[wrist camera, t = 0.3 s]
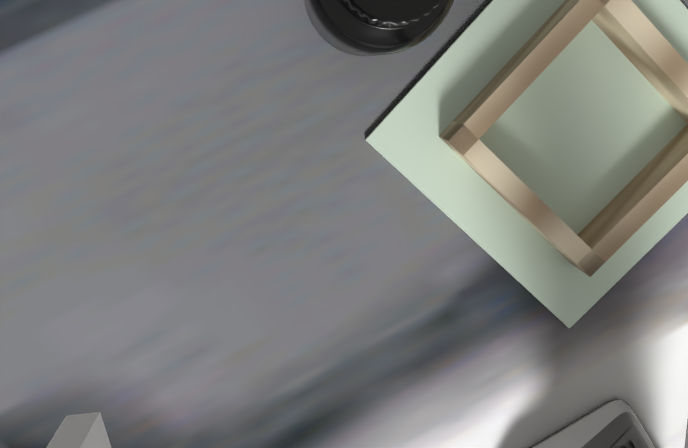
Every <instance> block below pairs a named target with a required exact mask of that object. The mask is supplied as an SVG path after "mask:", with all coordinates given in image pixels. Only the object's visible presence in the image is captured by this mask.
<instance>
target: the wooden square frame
mask: <svg viewBox="0 0 688 448" xmlns="http://www.w3.org/2000/svg"><path fill="white" fill-rule="evenodd" d="M591 20H593V21H594V23H595V24H596V25H597V26H598V27H599V28H600V29H601V30H602V31H603V32H604V33H605V35H606V36H607V37H608V38H609V39H610V40H611V41H612V42H613V43H614V44H615V45H616V47H617V48H618V49H619V50H620V51H621V52H622V53H623V54H624V55H625V56H626V57H627V59H628V60H629V61H630V62H631V63H632V64H633V65H634V66H635V67H636V68H637V69H638V71H639V72H640V73H641V74H642V75H643V76H644V77H645V78H646V79H647V80H648V82H649V83H650V84H651V85H652V86H653V87H654V88H655V89H656V90H657V91H658V92H659V94H660V95H661V96H662V97H663V98H664V99H665V100H666V101H667V102H668V103H669V104H670V106H671V107H672V108H673V109H674V110H675V111H676V112H677V113H678V114H679V115H680V116H681V118H682V119H683V120H684V121H685V122H686V123H687V125H686V126H685V127H684V128H683V129H682V130H681V131H680V132H679V133H678V134H677V135H676V136H675V137H674V138H673V139H672V140H671V141H670V142H669V143H668V144H667V145H666V146H665V147H664V148H663V149H662V150H661V151H660V152H659V153H658V154H657V155H656V156H655V157H654V158H653V159H652V160H651V161H650V162H649V163H648V164H647V165H646V166H645V167H644V168H643V169H642V170H641V171H640V172H639V173H638V174H637V175H636V176H635V177H634V178H633V179H632V180H631V181H630V182H629V183H628V184H627V185H626V186H625V187H624V188H623V189H622V190H621V191H620V192H619V193H618V194H617V195H616V196H615V197H614V198H613V199H612V200H611V201H610V202H609V203H608V204H607V205H606V206H605V207H604V208H603V209H602V210H601V211H600V212H599V213H598V214H597V215H596V216H595V217H594V218H593V219H592V220H591V221H590V222H589V223H588V224H587V225H586V226H585V227H584V228H583V229H582V230H581V231H580V232H579V233H578V234H575V233H574V232H573V231H572V230H571V229H570V228H569V227H568V226H567V225H566V224H565V223H564V222H563V221H562V220H561V219H560V218H559V217H558V216H557V215H556V214H555V213H554V212H553V211H552V210H551V209H550V208H549V207H548V206H547V205H546V204H545V203H544V202H543V201H542V200H541V199H540V198H539V197H538V196H537V195H536V194H535V193H533V192H532V191H531V190H530V189H529V188H528V187H527V186H526V185H525V184H524V183H523V182H522V181H521V180H520V179H519V178H518V177H517V176H516V175H515V174H514V173H513V172H512V171H511V170H510V169H509V168H508V167H507V166H506V165H505V164H504V163H503V162H502V161H501V160H500V159H499V158H498V157H497V156H496V155H495V154H494V153H492V152H491V151H490V150H489V149H488V148H487V147H486V146H485V145H484V144H483V143H482V142H481V141H480V140H479V139H480V138H481V136H482V135H483V134H484V133H485V132H486V131H487V130H488V129H489V128H490V127H491V126H492V125H493V124H494V123H495V122H496V121H497V120H498V118H499V117H500V116H501V115H502V114H503V113H504V112H505V111H506V110H507V109H508V108H509V107H510V106H511V105H512V104H513V103H514V101H515V100H516V99H517V98H518V97H519V96H520V95H521V94H522V93H523V92H524V91H525V90H526V89H527V88H528V87H529V86H530V85H531V83H532V82H533V81H534V80H535V79H536V78H537V77H538V76H539V75H540V74H541V73H542V72H543V71H544V70H545V69H546V68H547V66H548V65H549V64H550V63H551V62H552V61H553V60H554V59H555V58H556V57H557V56H558V55H559V54H560V53H561V52H562V51H563V50H564V48H565V47H566V46H567V45H568V44H569V43H570V42H571V41H572V40H573V39H574V38H575V37H576V36H577V35H578V34H579V33H580V31H581V30H582V29H583V28H584V27H585V26H586V25H587V24H588V23H589V22H590V21H591ZM439 137H440V138H441V139H442V140H443V141H444V142H445V143H446V144H447V145H448V146H449V147H450V148H451V149H452V150H453V151H454V152H455V153H456V154H457V155H459V156H460V157H461V158H462V159H463V160H464V161H465V162H466V163H467V164H468V165H469V166H470V167H471V168H472V169H473V170H474V171H475V172H476V173H477V174H478V175H479V176H480V177H481V178H483V179H484V180H485V181H486V182H487V183H488V184H489V185H490V186H491V187H492V188H493V189H494V190H495V191H496V192H497V193H498V194H499V195H500V196H501V197H502V198H503V199H504V200H505V201H506V202H508V203H509V204H510V205H511V206H512V207H513V208H514V209H515V210H516V211H517V212H518V213H519V214H520V215H521V216H522V217H523V218H524V219H525V220H526V221H527V222H528V223H529V224H530V225H532V226H533V227H534V228H535V229H536V230H537V231H538V232H539V233H540V234H541V235H542V236H543V237H544V238H545V239H546V240H547V241H548V242H549V243H550V244H551V245H552V246H553V247H554V248H556V249H557V250H558V251H559V252H560V253H561V254H562V255H563V256H564V257H565V258H566V259H567V260H568V261H569V262H570V263H571V264H572V265H574V266H575V267H576V268H578V269H579V270H581V271H582V272H584V273H585V274H587V275H588V276H589V277H591V276H592V275H593V274H594V273H595V272H596V271H597V270H598V269H599V268H600V267H601V266H602V265H603V264H604V263H605V262H606V261H607V260H608V259H609V258H610V257H611V256H612V255H613V254H614V253H615V252H616V251H617V250H618V249H619V248H620V247H621V246H622V245H623V244H624V243H625V242H626V241H627V240H628V239H629V238H630V237H631V236H632V235H633V234H634V233H635V232H636V231H637V230H638V229H639V228H641V227H642V226H643V225H644V224H645V223H646V222H647V221H648V220H649V219H650V218H651V217H652V216H653V215H654V214H655V213H656V212H657V211H658V210H659V209H660V208H661V207H662V206H663V205H664V204H665V203H666V202H667V201H668V200H669V199H670V198H671V197H672V196H673V195H674V194H675V193H676V192H677V191H678V190H679V189H680V188H681V187H682V186H683V185H684V184H685V183H686V182H687V181H688V63H687V62H686V61H685V60H684V59H683V58H682V57H681V55H680V54H679V53H678V52H677V51H676V50H675V49H674V48H673V46H672V45H671V44H670V43H669V42H668V41H667V40H666V39H665V37H664V36H663V35H662V34H661V33H660V32H659V31H658V30H657V29H656V27H655V26H654V25H653V24H652V23H651V22H650V21H649V20H648V18H647V17H646V16H645V15H644V14H643V13H642V12H641V11H640V9H639V8H638V7H637V6H636V5H635V4H634V3H633V2H632V0H565V1H564V2H563V3H562V5H561V6H560V7H559V8H558V9H557V10H556V11H555V12H554V13H553V14H552V15H551V16H550V17H549V19H548V20H547V21H546V22H545V23H544V24H543V25H542V26H541V27H540V28H539V29H538V30H537V31H536V32H535V34H534V35H533V36H532V37H531V38H530V39H529V40H528V41H527V42H526V43H525V44H524V45H523V46H522V48H521V49H520V50H519V51H518V52H517V53H516V54H515V55H514V56H513V57H512V58H511V59H510V60H509V61H508V63H507V64H506V65H505V66H504V67H503V68H502V69H501V70H500V71H499V72H498V73H497V74H496V75H495V77H494V78H493V79H492V80H491V81H490V82H489V83H488V84H487V85H486V86H485V87H484V88H483V89H482V90H481V92H480V93H479V94H478V95H477V96H476V97H475V98H474V99H473V100H472V101H471V102H470V103H469V104H468V105H467V107H466V108H465V109H464V110H463V111H462V112H461V113H460V114H459V115H458V116H457V117H456V118H455V119H454V121H453V122H452V123H451V124H450V125H449V126H448V127H447V128H446V129H445V130H444V131H443V132H442V133H441V134H440V136H439Z"/></svg>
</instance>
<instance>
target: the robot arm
mask: <svg viewBox="0 0 688 448" xmlns="http://www.w3.org/2000/svg"><path fill="white" fill-rule="evenodd" d="M46 448H111V445H110V442H109V439H108V436H107V433H106V430H105V427H104V423H103V420H102V417H101V414H100V412H95V413H86V414H76V415H66V417H65V419H64V420H63V422H62V423H61V425H60V427H59V428H58V430H57V431H56V433H55V435H54V436H53V438H52V439H51V441H50V443H49V444H48V446H47V447H46ZM685 448H688V421H687V430H686V440H685Z"/></svg>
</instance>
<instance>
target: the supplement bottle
mask: <svg viewBox="0 0 688 448" xmlns="http://www.w3.org/2000/svg"><path fill="white" fill-rule="evenodd" d="M304 1H305V6H306V10H307V13H308V16H309V18H310V21H311V23H312V25H313V26H314V28H315V29H316V31H317V32H318V33H319V35H320V36H321V37H322V38H323V39H324V40H325V41H326V42H328V43H329V44H330V45H332V46H333V47H335V48H336V49H338V50H340V51H343V52H345V53H348V54H352V55H357V56H376V55H385V54H392V53H397V52H401V51H404V50H406V49H409V48H411V47H413V46H415V45H417V44H419V43H420V42H422V41H423V40H425V39H426V38H427V37H429V36H430V35H431V34H432V33H433V32H434V31H435V30H436V29H437V28H438V27H439V26H440V24H441V23H442V22H443V20H444V19H445V17H446V16H447V14H448V12H449V11H450V9H451V6H452V4H453V2H454V0H304Z"/></svg>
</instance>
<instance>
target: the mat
mask: <svg viewBox="0 0 688 448" xmlns="http://www.w3.org/2000/svg"><path fill="white" fill-rule="evenodd" d="M564 1H565V0H492V1H491V2H490V3H489V4H488V5H487V6H486V7H485V8H484V9H483V11H482V12H481V13H480V14H479V15H478V16H477V17H476V18H475V19H474V20H473V22H472V23H471V24H470V25H469V26H468V27H467V28H466V29H465V30H464V31H463V32H462V34H461V35H460V36H459V37H458V38H457V39H456V40H455V41H454V42H453V43H452V45H451V46H450V47H449V48H448V49H447V50H446V51H445V52H444V53H443V54H442V55H441V57H440V58H439V59H438V60H437V61H436V62H435V63H434V64H433V65H432V66H431V68H430V69H429V70H428V71H427V72H426V73H425V74H424V75H423V76H422V77H421V79H420V80H419V81H418V82H417V83H416V84H415V85H414V86H413V87H412V88H411V89H410V91H409V92H408V93H407V94H406V95H405V96H404V97H403V98H402V99H401V100H400V102H399V103H398V104H397V105H396V106H395V107H394V108H393V109H392V110H391V111H390V113H389V114H388V115H387V116H386V117H385V118H384V119H383V120H382V121H381V122H380V123H379V125H378V126H377V127H376V128H375V129H374V130H373V131H372V132H371V133H370V134H369V136H368V137H367V138H366V139H365V140H366V141H367V142H368V143H369V144H370V145H371V146H373V147H374V148H375V149H376V150H377V151H378V152H379V153H380V154H381V155H382V156H383V157H384V158H385V159H387V160H388V161H389V162H390V163H391V164H392V165H393V166H394V167H395V168H396V169H397V170H398V171H400V172H401V173H402V174H403V175H404V176H405V177H406V178H407V179H408V180H409V181H410V182H411V183H413V184H414V185H415V186H416V187H417V188H418V189H419V190H420V191H421V192H422V193H423V194H424V195H425V196H427V197H428V198H429V199H430V200H431V201H432V202H433V203H434V204H435V205H436V206H437V207H438V208H440V209H441V210H442V211H443V212H444V213H445V214H446V215H447V216H448V217H449V218H450V219H451V220H452V221H454V222H455V223H456V224H457V225H458V226H459V227H460V228H461V229H462V230H463V231H464V232H465V233H467V234H468V235H469V236H470V237H471V238H472V239H473V240H474V241H475V242H476V243H477V244H478V245H479V246H481V247H482V248H483V249H484V250H485V251H486V252H487V253H488V254H489V255H490V256H491V257H492V258H494V259H495V260H496V261H497V262H498V263H499V264H500V265H501V266H502V267H503V268H504V269H505V270H506V271H508V272H509V273H510V274H511V275H512V276H513V277H514V278H515V279H516V280H517V281H518V282H519V283H521V284H522V285H523V286H524V287H525V288H526V289H527V290H528V291H529V292H530V293H531V294H532V295H534V296H535V297H536V298H537V299H538V300H539V301H540V302H541V303H542V304H543V305H544V306H545V307H546V308H548V309H549V310H550V311H551V312H552V313H553V314H554V315H555V316H556V317H557V318H558V319H559V320H561V321H562V322H563V323H564V324H565V325H566V326H567V327H568V328H569V329H570V328H571V327H572V326H573V325H574V324H575V323H576V322H577V321H578V320H579V319H580V318H581V317H582V316H583V315H584V314H585V313H586V312H587V311H588V310H589V309H590V308H591V307H592V306H593V305H594V304H595V303H596V302H597V301H598V300H599V299H600V298H601V297H602V296H603V295H604V294H605V293H606V292H608V291H609V290H610V289H611V288H612V287H613V286H614V285H615V284H616V283H617V282H618V281H619V280H620V279H621V278H622V277H623V276H624V275H625V274H626V273H627V272H628V271H629V270H630V269H631V268H632V267H633V266H634V265H635V264H636V263H637V262H638V261H639V260H640V259H641V258H642V257H643V256H644V255H645V254H646V253H647V252H648V251H649V250H650V249H651V248H652V247H653V246H654V245H655V244H656V243H657V242H658V241H660V240H661V239H662V238H663V237H664V236H665V235H666V234H667V233H668V232H669V231H670V230H671V229H672V228H673V227H674V226H675V225H676V224H677V223H678V222H679V221H680V220H681V219H682V218H683V217H684V216H685V215H686V214H687V213H688V181H687V182H686V183H685V184H684V185H683V186H682V187H681V188H680V189H679V190H678V191H677V192H676V193H675V194H674V195H673V196H672V197H671V198H670V199H669V200H668V201H667V202H666V203H665V204H664V205H663V206H662V207H661V208H660V209H659V210H658V211H657V212H656V213H655V214H654V215H653V216H652V217H651V218H650V219H649V220H648V221H647V222H646V223H645V224H644V225H643V226H642V227H641V228H639V229H638V230H637V231H636V232H635V233H634V234H633V235H632V236H631V237H630V238H629V239H628V240H627V241H626V242H625V243H624V244H623V245H622V246H621V247H620V248H619V249H618V250H617V251H616V252H615V253H614V254H613V255H612V256H611V257H610V258H609V259H608V260H607V261H606V262H605V263H604V264H603V265H602V266H601V267H600V268H599V269H598V270H597V271H596V272H595V273H594V274H593V275H592V276H591V277H589V276H588V275H587V274H585V273H584V272H582V271H581V270H579V269H578V268H576V267H575V266H574V265H572V264H571V263H570V262H569V261H568V260H567V259H566V258H565V257H564V256H563V255H562V254H561V253H560V252H559V251H558V250H557V249H556V248H554V247H553V246H552V245H551V244H550V243H549V242H548V241H547V240H546V239H545V238H544V237H543V236H542V235H541V234H540V233H539V232H538V231H537V230H536V229H535V228H534V227H533V226H532V225H530V224H529V223H528V222H527V221H526V220H525V219H524V218H523V217H522V216H521V215H520V214H519V213H518V212H517V211H516V210H515V209H514V208H513V207H512V206H511V205H510V204H509V203H508V202H506V201H505V200H504V199H503V198H502V197H501V196H500V195H499V194H498V193H497V192H496V191H495V190H494V189H493V188H492V187H491V186H490V185H489V184H488V183H487V182H486V181H485V180H484V179H483V178H481V177H480V176H479V175H478V174H477V173H476V172H475V171H474V170H473V169H472V168H471V167H470V166H469V165H468V164H467V163H466V162H465V161H464V160H463V159H462V158H461V157H460V156H459V155H457V154H456V153H455V152H454V151H453V150H452V149H451V148H450V147H449V146H448V145H447V144H446V143H445V142H444V141H443V140H442V139H441V138H440V137H439V136H440V134H441V133H442V132H443V131H444V130H445V129H446V128H447V127H448V126H449V125H450V124H451V123H452V122H453V121H454V119H455V118H456V117H457V116H458V115H459V114H460V113H461V112H462V111H463V110H464V109H465V108H466V107H467V105H468V104H469V103H470V102H471V101H472V100H473V99H474V98H475V97H476V96H477V95H478V94H479V93H480V92H481V90H482V89H483V88H484V87H485V86H486V85H487V84H488V83H489V82H490V81H491V80H492V79H493V78H494V77H495V75H496V74H497V73H498V72H499V71H500V70H501V69H502V68H503V67H504V66H505V65H506V64H507V63H508V61H509V60H510V59H511V58H512V57H513V56H514V55H515V54H516V53H517V52H518V51H519V50H520V49H521V48H522V46H523V45H524V44H525V43H526V42H527V41H528V40H529V39H530V38H531V37H532V36H533V35H534V34H535V32H536V31H537V30H538V29H539V28H540V27H541V26H542V25H543V24H544V23H545V22H546V21H547V20H548V19H549V17H550V16H551V15H552V14H553V13H554V12H555V11H556V10H557V9H558V8H559V7H560V6H561V5H562V3H563V2H564ZM632 2H633V3H634V4H635V5H636V6H637V7H638V8H639V9H640V11H641V12H642V13H643V14H644V15H645V16H646V17H647V18H648V20H649V21H650V22H651V23H652V24H653V25H654V26H655V27H656V29H657V30H658V31H659V32H660V33H661V34H662V35H663V36H664V37H665V39H666V40H667V41H668V42H669V43H670V44H671V45H672V46H673V48H674V49H675V50H676V51H677V52H678V53H679V54H680V55H681V57H682V58H683V59H684V60H685V61H686V62H687V63H688V9H687V8H686V7H685V6H684V4H683V3H682V2H681V1H680V0H632ZM686 125H687V123H686V122H685V121H684V120H683V119H682V118H681V116H680V115H679V114H678V113H677V112H676V111H675V110H674V109H673V108H672V107H671V106H670V104H669V103H668V102H667V101H666V100H665V99H664V98H663V97H662V96H661V95H660V94H659V92H658V91H657V90H656V89H655V88H654V87H653V86H652V85H651V84H650V83H649V82H648V80H647V79H646V78H645V77H644V76H643V75H642V74H641V73H640V72H639V71H638V69H637V68H636V67H635V66H634V65H633V64H632V63H631V62H630V61H629V60H628V59H627V57H626V56H625V55H624V54H623V53H622V52H621V51H620V50H619V49H618V48H617V47H616V45H615V44H614V43H613V42H612V41H611V40H610V39H609V38H608V37H607V36H606V35H605V33H604V32H603V31H602V30H601V29H600V28H599V27H598V26H597V25H596V24H595V23H594V21H593V20H591V21H590V22H589V23H588V24H587V25H586V26H585V27H584V28H583V29H582V30H581V31H580V33H579V34H578V35H577V36H576V37H575V38H574V39H573V40H572V41H571V42H570V43H569V44H568V45H567V46H566V47H565V48H564V50H563V51H562V52H561V53H560V54H559V55H558V56H557V57H556V58H555V59H554V60H553V61H552V62H551V63H550V64H549V65H548V66H547V68H546V69H545V70H544V71H543V72H542V73H541V74H540V75H539V76H538V77H537V78H536V79H535V80H534V81H533V82H532V83H531V85H530V86H529V87H528V88H527V89H526V90H525V91H524V92H523V93H522V94H521V95H520V96H519V97H518V98H517V99H516V100H515V101H514V103H513V104H512V105H511V106H510V107H509V108H508V109H507V110H506V111H505V112H504V113H503V114H502V115H501V116H500V117H499V118H498V120H497V121H496V122H495V123H494V124H493V125H492V126H491V127H490V128H489V129H488V130H487V131H486V132H485V133H484V134H483V135H482V136H481V138H480V139H479V140H480V141H481V142H482V143H483V144H484V145H485V146H486V147H487V148H488V149H489V150H490V151H491V152H492V153H494V154H495V155H496V156H497V157H498V158H499V159H500V160H501V161H502V162H503V163H504V164H505V165H506V166H507V167H508V168H509V169H510V170H511V171H512V172H513V173H514V174H515V175H516V176H517V177H518V178H519V179H520V180H521V181H522V182H523V183H524V184H525V185H526V186H527V187H528V188H529V189H530V190H531V191H532V192H533V193H535V194H536V195H537V196H538V197H539V198H540V199H541V200H542V201H543V202H544V203H545V204H546V205H547V206H548V207H549V208H550V209H551V210H552V211H553V212H554V213H555V214H556V215H557V216H558V217H559V218H560V219H561V220H562V221H563V222H564V223H565V224H566V225H567V226H568V227H569V228H570V229H571V230H572V231H573V232H574V233H575V234H578V233H579V232H580V231H581V230H582V229H583V228H584V227H585V226H586V225H587V224H588V223H589V222H590V221H591V220H592V219H593V218H594V217H595V216H596V215H597V214H598V213H599V212H600V211H601V210H602V209H603V208H604V207H605V206H606V205H607V204H608V203H609V202H610V201H611V200H612V199H613V198H614V197H615V196H616V195H617V194H618V193H619V192H620V191H621V190H622V189H623V188H624V187H625V186H626V185H627V184H628V183H629V182H630V181H631V180H632V179H633V178H634V177H635V176H636V175H637V174H638V173H639V172H640V171H641V170H642V169H643V168H644V167H645V166H646V165H647V164H648V163H649V162H650V161H651V160H652V159H653V158H654V157H655V156H656V155H657V154H658V153H659V152H660V151H661V150H662V149H663V148H664V147H665V146H666V145H667V144H668V143H669V142H670V141H671V140H672V139H673V138H674V137H675V136H676V135H677V134H678V133H679V132H680V131H681V130H682V129H683V128H684V127H685V126H686Z"/></svg>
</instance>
